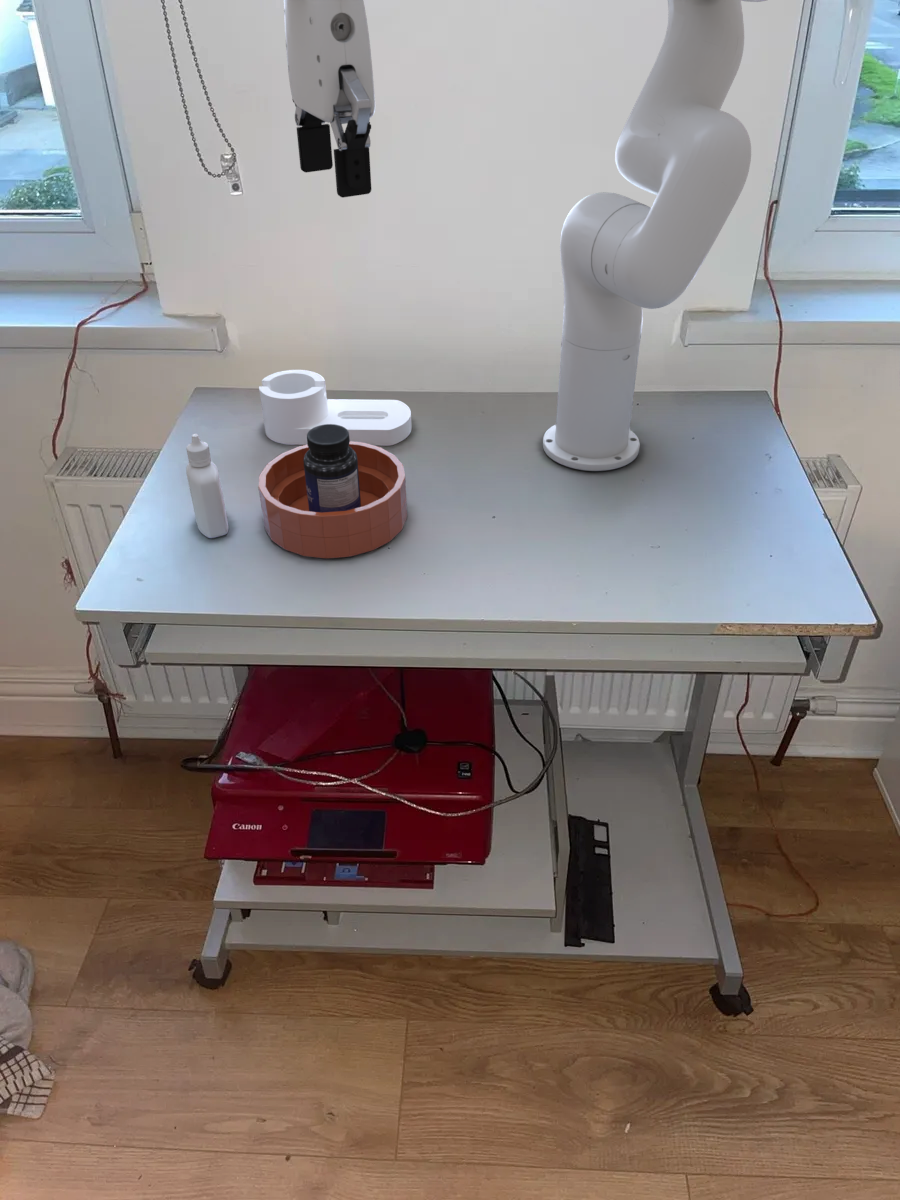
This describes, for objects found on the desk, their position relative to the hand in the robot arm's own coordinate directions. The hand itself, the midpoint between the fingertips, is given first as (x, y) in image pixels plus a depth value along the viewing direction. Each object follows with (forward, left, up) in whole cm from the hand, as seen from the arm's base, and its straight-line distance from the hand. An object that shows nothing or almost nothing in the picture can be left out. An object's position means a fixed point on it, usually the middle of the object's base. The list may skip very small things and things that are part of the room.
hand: (335, 182), depth 90 cm
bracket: (-16, -14, -37) cm, 43 cm away
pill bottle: (+3, -1, -37) cm, 37 cm away
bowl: (+3, -1, -37) cm, 37 cm away
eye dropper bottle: (+11, -13, -37) cm, 41 cm away
